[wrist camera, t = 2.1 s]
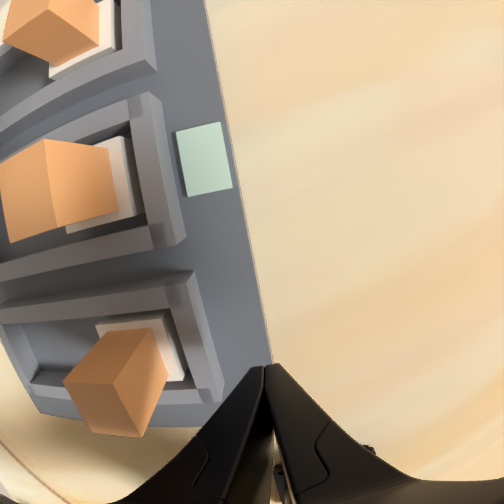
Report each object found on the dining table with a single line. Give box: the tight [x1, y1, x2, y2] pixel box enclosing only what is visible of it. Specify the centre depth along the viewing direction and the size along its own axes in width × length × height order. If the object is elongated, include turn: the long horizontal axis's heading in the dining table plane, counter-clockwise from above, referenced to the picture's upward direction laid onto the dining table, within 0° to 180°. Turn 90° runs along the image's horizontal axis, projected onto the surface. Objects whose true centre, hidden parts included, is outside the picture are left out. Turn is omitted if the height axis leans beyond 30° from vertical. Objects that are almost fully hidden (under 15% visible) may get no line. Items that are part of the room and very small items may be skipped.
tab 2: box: [0, 136, 146, 243], centre depth 8 cm, size 3×3×5 cm
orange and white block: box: [62, 308, 188, 438], centre depth 9 cm, size 3×3×5 cm
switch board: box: [0, 0, 274, 427], centre depth 11 cm, size 22×16×2 cm
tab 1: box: [2, 0, 123, 81], centre depth 6 cm, size 3×3×5 cm
